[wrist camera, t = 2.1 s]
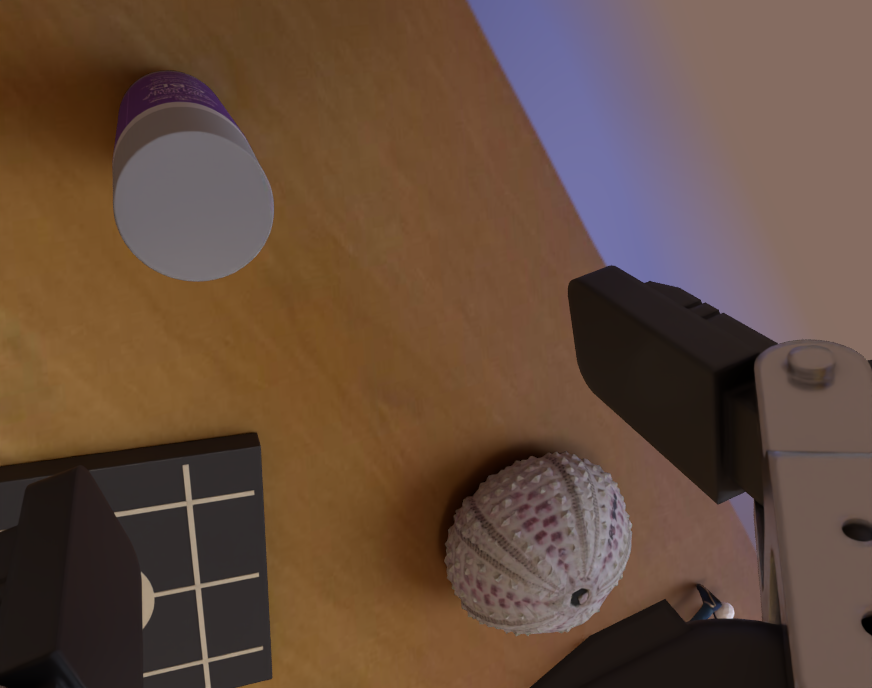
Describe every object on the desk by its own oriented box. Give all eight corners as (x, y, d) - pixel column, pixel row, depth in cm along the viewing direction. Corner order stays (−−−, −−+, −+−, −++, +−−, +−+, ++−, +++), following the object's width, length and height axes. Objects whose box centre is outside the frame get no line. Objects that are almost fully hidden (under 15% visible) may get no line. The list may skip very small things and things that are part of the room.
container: (195, 52, 33) (232, 97, 20) (244, 149, 36) (304, 243, 23) (96, 96, 33) (72, 170, 20) (153, 191, 35) (164, 312, 22)
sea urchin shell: (432, 459, 47) (482, 539, 41) (615, 420, 52) (688, 487, 45) (433, 612, 53) (476, 705, 47) (597, 566, 57) (659, 645, 51)
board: (-80, 743, 43) (-87, 767, 42) (-169, 488, 36) (-180, 508, 34) (269, 661, 50) (272, 680, 48) (256, 431, 42) (260, 446, 41)
